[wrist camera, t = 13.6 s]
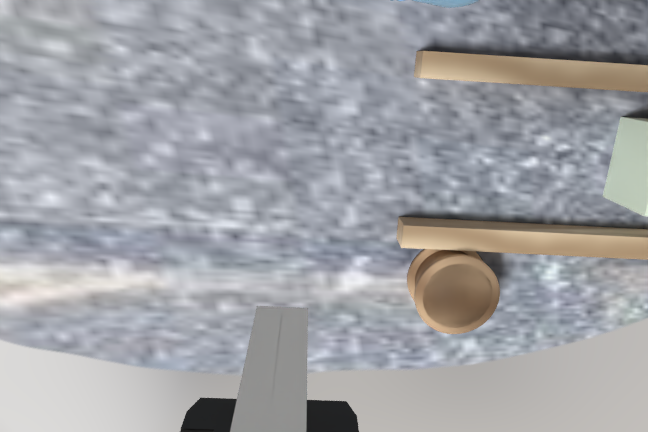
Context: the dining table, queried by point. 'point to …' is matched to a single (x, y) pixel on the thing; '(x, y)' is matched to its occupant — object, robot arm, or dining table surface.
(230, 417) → the robot arm
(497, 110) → the dining table surface
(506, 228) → the track
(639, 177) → the pale green block
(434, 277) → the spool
